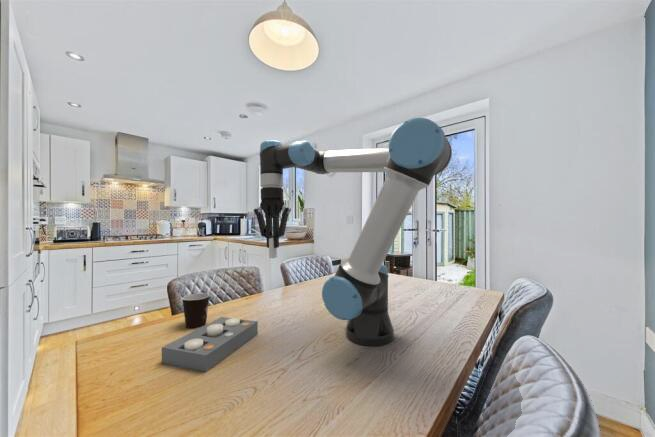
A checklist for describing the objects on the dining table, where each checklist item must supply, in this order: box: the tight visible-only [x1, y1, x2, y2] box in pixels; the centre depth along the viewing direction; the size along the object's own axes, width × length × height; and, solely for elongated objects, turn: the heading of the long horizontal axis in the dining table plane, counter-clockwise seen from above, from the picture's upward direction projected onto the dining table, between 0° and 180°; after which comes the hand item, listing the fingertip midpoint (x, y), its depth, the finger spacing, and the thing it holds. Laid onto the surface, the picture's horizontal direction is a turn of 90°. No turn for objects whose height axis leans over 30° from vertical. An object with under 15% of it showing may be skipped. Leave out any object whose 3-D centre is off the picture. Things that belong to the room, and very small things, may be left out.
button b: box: [207, 324, 223, 337], centre depth 78 cm, size 4×4×2 cm
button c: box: [184, 339, 203, 351], centre depth 71 cm, size 4×4×2 cm
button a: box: [225, 317, 241, 327], centre depth 86 cm, size 4×4×2 cm
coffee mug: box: [181, 292, 210, 330], centre depth 96 cm, size 12×9×10 cm
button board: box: [161, 316, 259, 372], centre depth 78 cm, size 14×23×4 cm, turn 163°
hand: (273, 257), depth 90 cm, fingers closed
